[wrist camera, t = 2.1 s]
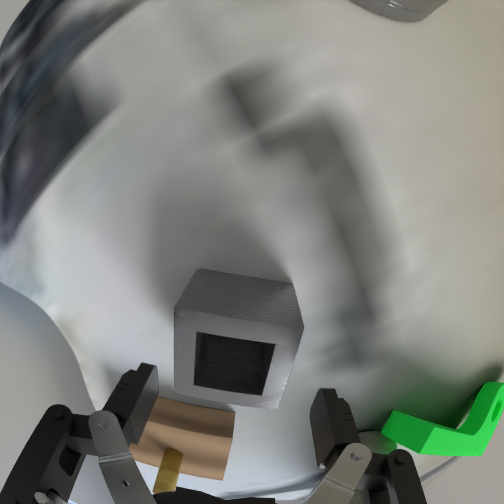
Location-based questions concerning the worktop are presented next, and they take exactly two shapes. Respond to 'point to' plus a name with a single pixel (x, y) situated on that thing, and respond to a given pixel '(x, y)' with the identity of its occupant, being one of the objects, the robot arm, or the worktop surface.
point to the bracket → (449, 439)
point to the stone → (376, 445)
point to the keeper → (184, 442)
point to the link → (236, 326)
